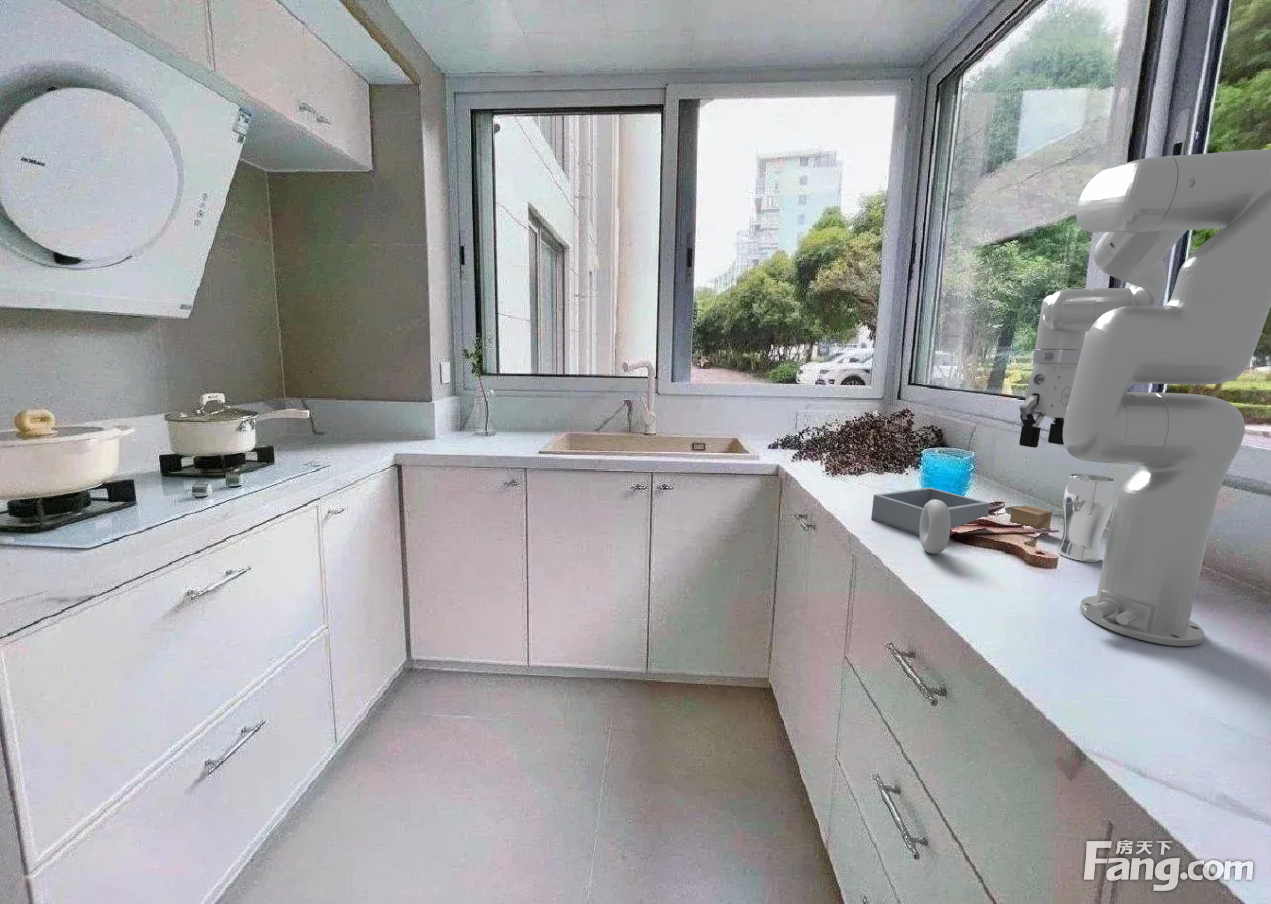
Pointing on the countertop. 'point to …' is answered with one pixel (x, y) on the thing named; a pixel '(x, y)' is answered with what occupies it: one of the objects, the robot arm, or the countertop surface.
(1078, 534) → the beer glass
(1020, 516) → the walnut cube
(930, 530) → the donut
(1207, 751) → the countertop surface
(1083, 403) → the robot arm
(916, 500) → the tray
